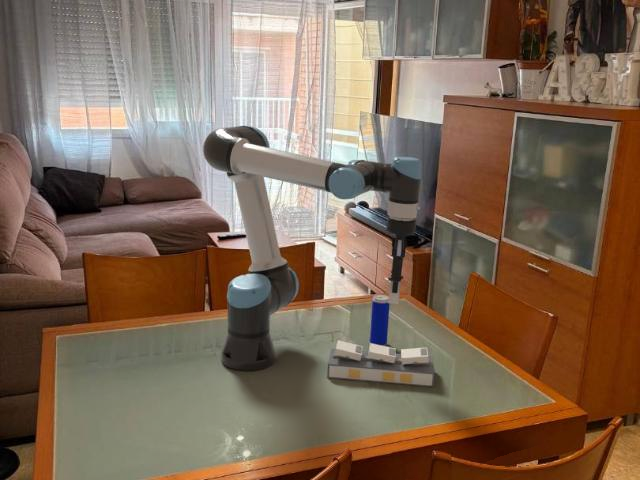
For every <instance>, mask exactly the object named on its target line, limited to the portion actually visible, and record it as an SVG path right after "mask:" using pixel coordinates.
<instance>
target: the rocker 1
mask: <svg viewBox="0 0 640 480" xmlns="http://www.w3.org/2000/svg"><path fill="white" fill-rule="evenodd" d="M363 347H364V346H362V345H359V344H354V343H350V342H346V341H343V340H339V339H338V340H337V342H336V348H335V349H336V351H335V355H338V356H342V357H346V359H349V358H350V359H355V360H359V361H360V360H361V356H362V351H363Z"/></svg>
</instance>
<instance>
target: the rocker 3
mask: <svg viewBox="0 0 640 480" xmlns="http://www.w3.org/2000/svg"><path fill="white" fill-rule="evenodd" d="M400 351H401V353H400V354H401V359H402V364H414V365H417V363H429V360H428V356H429V352H428V347H417V348H416V347H415V348H402V349H400Z"/></svg>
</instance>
